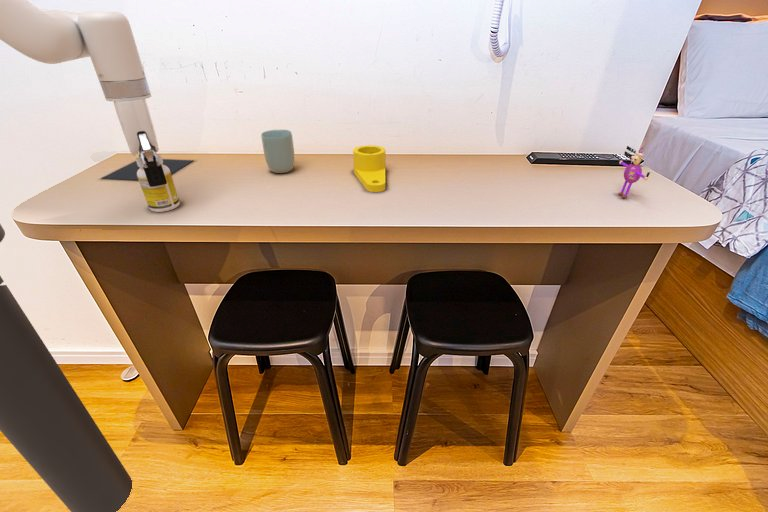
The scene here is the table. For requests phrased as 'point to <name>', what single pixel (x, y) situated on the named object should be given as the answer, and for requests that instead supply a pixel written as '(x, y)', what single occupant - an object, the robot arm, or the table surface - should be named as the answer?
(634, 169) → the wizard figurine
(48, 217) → the table surface
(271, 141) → the cup
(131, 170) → the mat
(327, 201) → the table surface
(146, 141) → the robot arm
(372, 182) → the crank
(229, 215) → the table surface
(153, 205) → the pill bottle
